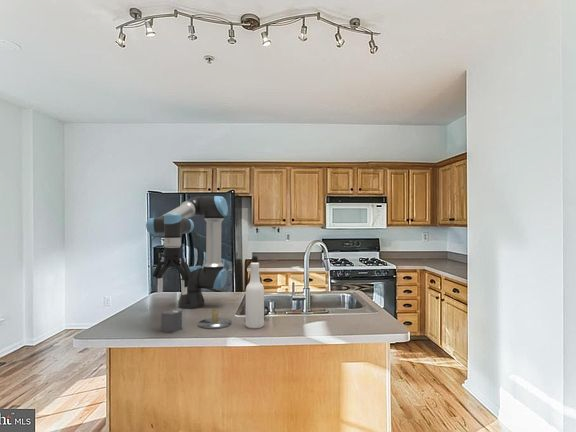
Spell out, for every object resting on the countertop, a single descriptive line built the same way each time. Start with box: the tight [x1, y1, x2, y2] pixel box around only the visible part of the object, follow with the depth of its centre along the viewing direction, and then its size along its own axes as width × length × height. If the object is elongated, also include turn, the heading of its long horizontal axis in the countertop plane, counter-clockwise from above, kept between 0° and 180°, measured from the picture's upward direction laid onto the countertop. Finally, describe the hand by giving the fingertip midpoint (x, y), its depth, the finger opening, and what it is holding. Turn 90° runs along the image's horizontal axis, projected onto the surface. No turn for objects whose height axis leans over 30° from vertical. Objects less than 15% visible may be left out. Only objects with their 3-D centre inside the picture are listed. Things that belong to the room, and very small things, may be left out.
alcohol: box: [245, 262, 265, 330], centre depth 175 cm, size 9×9×30 cm
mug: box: [264, 300, 270, 320], centre depth 187 cm, size 9×12×9 cm
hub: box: [197, 308, 233, 330], centre depth 178 cm, size 16×16×7 cm
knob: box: [160, 309, 183, 334], centre depth 169 cm, size 6×6×9 cm
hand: (172, 293), depth 169 cm, fingers open, 13 cm apart
